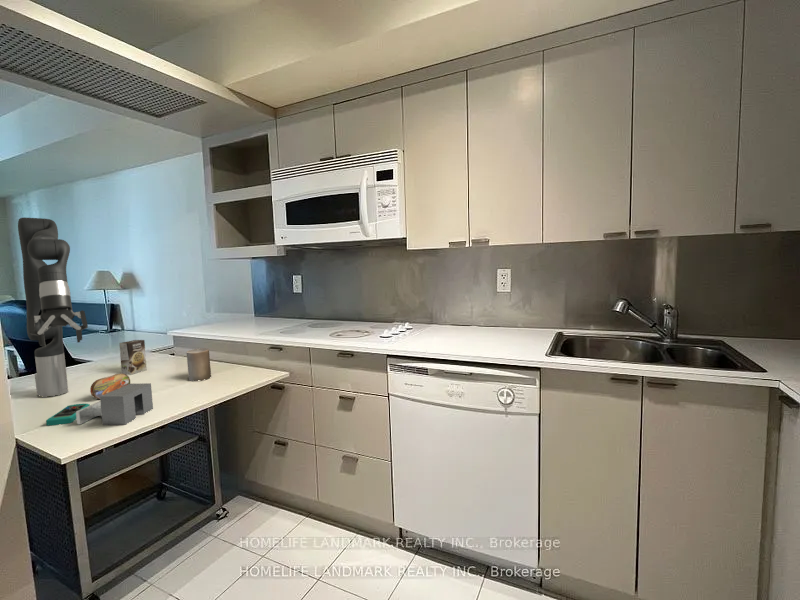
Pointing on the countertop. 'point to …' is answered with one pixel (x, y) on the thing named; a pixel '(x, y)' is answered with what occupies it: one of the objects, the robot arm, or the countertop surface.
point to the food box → (133, 356)
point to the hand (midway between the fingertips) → (61, 344)
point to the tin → (108, 384)
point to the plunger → (88, 413)
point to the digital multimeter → (65, 415)
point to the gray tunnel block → (126, 403)
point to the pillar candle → (198, 364)
